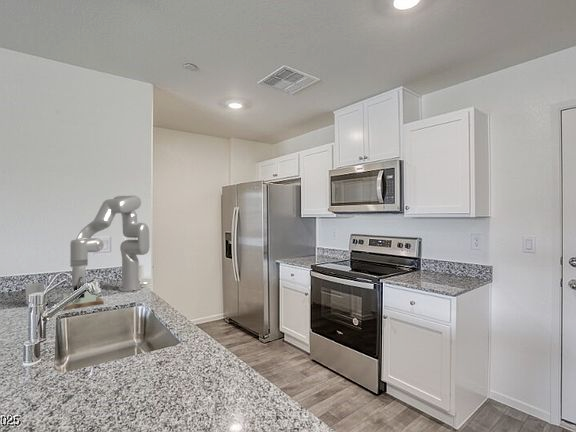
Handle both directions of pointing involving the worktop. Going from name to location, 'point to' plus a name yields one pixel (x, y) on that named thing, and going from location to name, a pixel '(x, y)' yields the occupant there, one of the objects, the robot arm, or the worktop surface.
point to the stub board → (85, 304)
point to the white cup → (33, 289)
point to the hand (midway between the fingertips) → (79, 296)
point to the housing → (87, 298)
